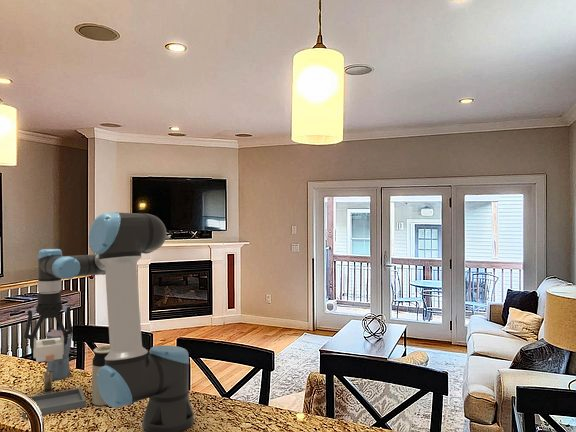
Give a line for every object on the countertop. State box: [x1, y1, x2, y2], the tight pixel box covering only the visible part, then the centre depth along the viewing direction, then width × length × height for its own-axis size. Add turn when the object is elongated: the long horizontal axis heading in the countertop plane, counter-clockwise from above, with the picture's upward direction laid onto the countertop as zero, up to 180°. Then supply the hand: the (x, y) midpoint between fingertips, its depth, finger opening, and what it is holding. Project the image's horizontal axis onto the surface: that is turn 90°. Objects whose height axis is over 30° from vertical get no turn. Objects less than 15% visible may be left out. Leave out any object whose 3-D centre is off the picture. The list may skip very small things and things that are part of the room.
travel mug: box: [91, 345, 110, 407], centre depth 152 cm, size 8×8×18 cm
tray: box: [22, 387, 87, 419], centre depth 149 cm, size 13×18×2 cm
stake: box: [42, 371, 54, 394], centre depth 160 cm, size 3×3×7 cm
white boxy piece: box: [35, 338, 63, 363], centre depth 159 cm, size 12×8×5 cm, turn 32°
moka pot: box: [45, 325, 74, 381], centre depth 176 cm, size 10×15×20 cm, turn 60°
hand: (48, 355), depth 160 cm, fingers closed on white boxy piece, 8 cm apart
